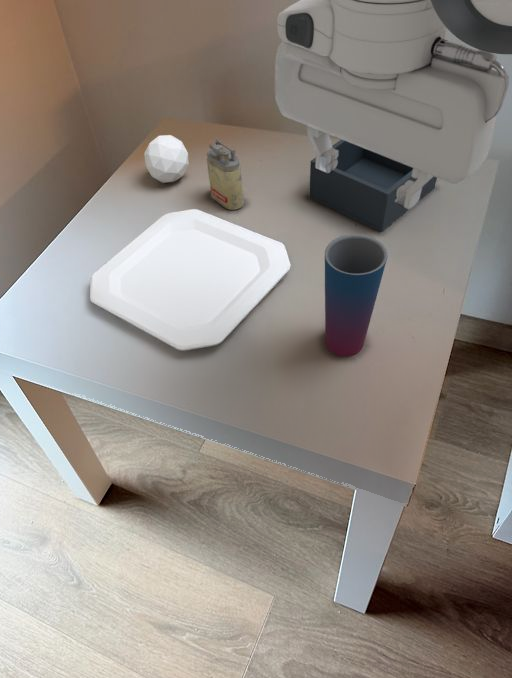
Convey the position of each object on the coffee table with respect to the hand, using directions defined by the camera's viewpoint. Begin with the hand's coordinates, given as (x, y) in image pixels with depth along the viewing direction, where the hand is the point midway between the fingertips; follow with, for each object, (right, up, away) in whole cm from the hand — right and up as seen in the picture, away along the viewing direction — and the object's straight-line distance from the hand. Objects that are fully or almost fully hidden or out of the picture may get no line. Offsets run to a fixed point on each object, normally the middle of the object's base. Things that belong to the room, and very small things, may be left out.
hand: (364, 185), depth 52 cm
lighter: (-13, +12, +41) cm, 44 cm away
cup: (+2, -14, +19) cm, 24 cm away
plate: (-19, -4, +29) cm, 35 cm away
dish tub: (+11, +13, +38) cm, 41 cm away
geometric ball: (-23, +18, +46) cm, 55 cm away
